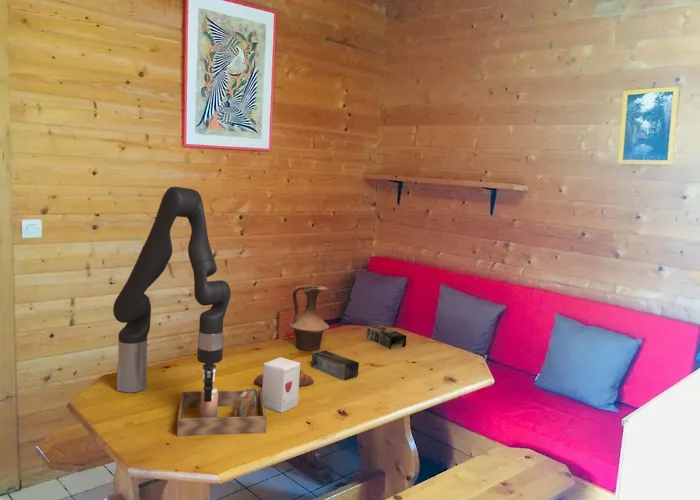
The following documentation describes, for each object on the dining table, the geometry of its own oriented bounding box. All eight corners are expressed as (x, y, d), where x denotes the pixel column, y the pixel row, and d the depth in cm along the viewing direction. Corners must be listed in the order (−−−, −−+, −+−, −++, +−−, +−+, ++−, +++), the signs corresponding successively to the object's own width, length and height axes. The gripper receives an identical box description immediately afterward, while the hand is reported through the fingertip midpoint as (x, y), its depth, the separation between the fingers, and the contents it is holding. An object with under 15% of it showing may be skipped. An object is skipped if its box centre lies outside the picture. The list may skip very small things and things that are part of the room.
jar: (200, 423, 185) (201, 392, 184) (200, 416, 190) (201, 386, 188) (217, 422, 186) (218, 392, 185) (217, 415, 191) (218, 386, 190)
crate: (177, 436, 176) (177, 419, 175) (181, 406, 196) (181, 391, 195) (265, 432, 182) (266, 417, 181) (260, 404, 202) (261, 390, 201)
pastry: (284, 373, 232) (285, 353, 231) (315, 384, 223) (316, 363, 222) (252, 384, 218) (253, 363, 217) (283, 397, 209) (284, 375, 208)
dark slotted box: (363, 337, 284) (364, 324, 284) (380, 335, 290) (381, 322, 289) (389, 350, 268) (390, 337, 267) (406, 348, 274) (407, 335, 273)
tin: (240, 429, 183) (241, 403, 181) (230, 428, 183) (231, 401, 182) (257, 409, 197) (258, 385, 196) (248, 408, 198) (249, 384, 197)
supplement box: (282, 413, 195) (284, 369, 193) (260, 406, 200) (262, 363, 198) (298, 405, 203) (301, 362, 201) (278, 398, 208) (280, 356, 205)
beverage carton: (324, 363, 246) (325, 347, 245) (359, 377, 233) (360, 361, 232) (310, 367, 240) (311, 351, 239) (344, 382, 227) (346, 365, 226)
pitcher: (293, 355, 252) (296, 289, 248) (282, 342, 268) (285, 280, 264) (333, 352, 259) (337, 288, 254) (320, 340, 274) (324, 280, 270)
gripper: (198, 337, 190) (196, 386, 193) (196, 353, 176) (194, 405, 179) (222, 338, 192) (220, 386, 194) (222, 353, 178) (220, 405, 180)
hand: (208, 395), depth 187 cm, fingers open, 8 cm apart
